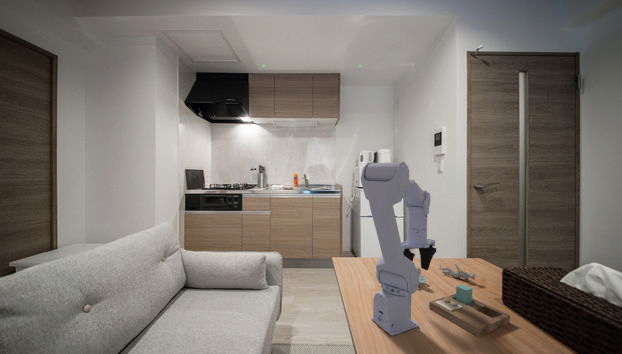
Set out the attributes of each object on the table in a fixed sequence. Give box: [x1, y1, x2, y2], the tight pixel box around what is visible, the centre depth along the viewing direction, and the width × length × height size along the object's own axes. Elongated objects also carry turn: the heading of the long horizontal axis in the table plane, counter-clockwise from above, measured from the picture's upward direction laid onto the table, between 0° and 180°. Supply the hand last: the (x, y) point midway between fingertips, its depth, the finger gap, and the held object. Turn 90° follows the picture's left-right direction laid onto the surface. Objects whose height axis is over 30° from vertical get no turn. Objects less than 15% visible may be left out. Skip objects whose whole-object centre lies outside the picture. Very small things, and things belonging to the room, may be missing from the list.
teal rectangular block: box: [455, 283, 473, 305], centre depth 74 cm, size 3×3×6 cm
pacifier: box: [416, 267, 427, 287], centre depth 90 cm, size 7×6×6 cm
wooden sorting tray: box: [428, 293, 511, 338], centre depth 70 cm, size 14×14×2 cm
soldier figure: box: [439, 262, 476, 281], centre depth 95 cm, size 8×5×12 cm
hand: (416, 271), depth 77 cm, fingers open, 7 cm apart
